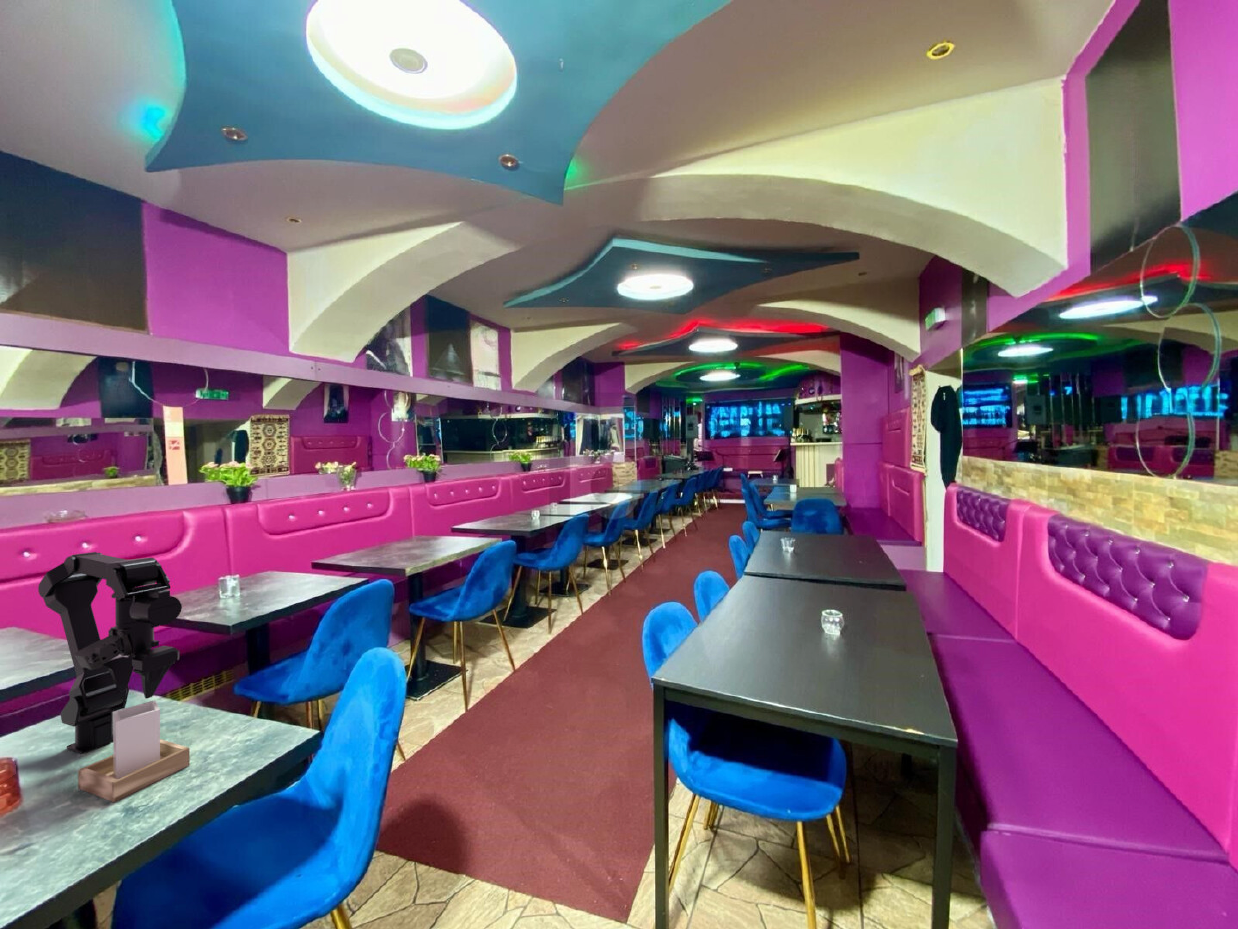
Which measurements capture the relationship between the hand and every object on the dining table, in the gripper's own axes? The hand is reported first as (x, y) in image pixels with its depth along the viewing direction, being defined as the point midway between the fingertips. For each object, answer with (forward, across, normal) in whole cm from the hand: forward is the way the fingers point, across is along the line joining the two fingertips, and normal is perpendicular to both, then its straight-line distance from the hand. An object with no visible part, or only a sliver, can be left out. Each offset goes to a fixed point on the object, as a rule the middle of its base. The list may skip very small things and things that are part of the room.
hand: (135, 694), depth 102 cm
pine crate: (+13, +8, -4) cm, 16 cm away
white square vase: (+12, +8, -4) cm, 15 cm away
